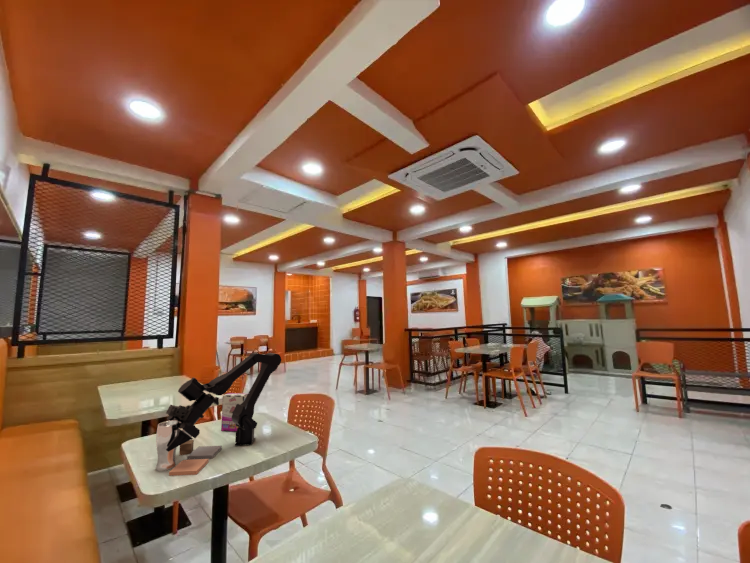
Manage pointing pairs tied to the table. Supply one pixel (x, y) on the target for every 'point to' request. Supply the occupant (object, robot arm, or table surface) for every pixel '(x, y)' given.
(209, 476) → the table surface
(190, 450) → the walnut block
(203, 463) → the terracotta tile
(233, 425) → the candy bar box
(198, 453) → the slate tile
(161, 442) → the beer glass
